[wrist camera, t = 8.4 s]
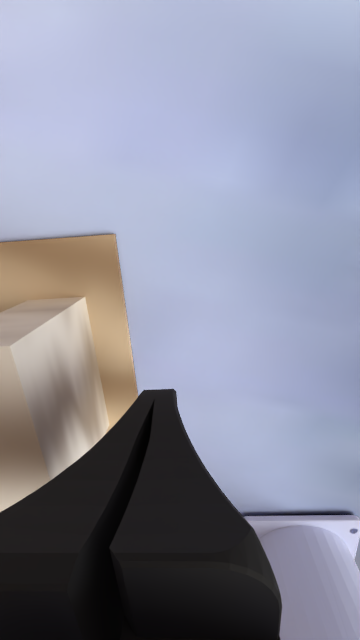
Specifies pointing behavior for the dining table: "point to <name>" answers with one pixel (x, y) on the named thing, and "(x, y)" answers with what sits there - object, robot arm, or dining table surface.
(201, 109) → the dining table surface
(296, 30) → the dining table surface
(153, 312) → the dining table surface
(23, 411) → the slab
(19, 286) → the mat
